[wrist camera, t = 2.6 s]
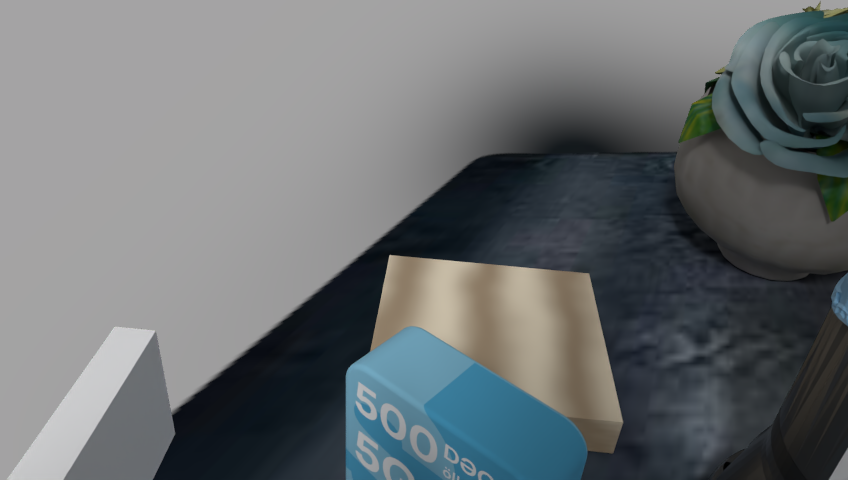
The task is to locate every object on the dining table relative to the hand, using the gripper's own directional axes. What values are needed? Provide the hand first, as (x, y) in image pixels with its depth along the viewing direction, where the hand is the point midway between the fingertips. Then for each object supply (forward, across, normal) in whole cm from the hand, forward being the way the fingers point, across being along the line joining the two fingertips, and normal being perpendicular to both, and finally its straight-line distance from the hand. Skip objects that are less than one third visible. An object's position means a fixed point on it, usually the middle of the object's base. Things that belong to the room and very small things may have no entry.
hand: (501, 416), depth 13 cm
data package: (+15, 0, -26) cm, 30 cm away
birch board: (+31, +3, -26) cm, 40 cm away
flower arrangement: (+49, +30, -26) cm, 63 cm away
